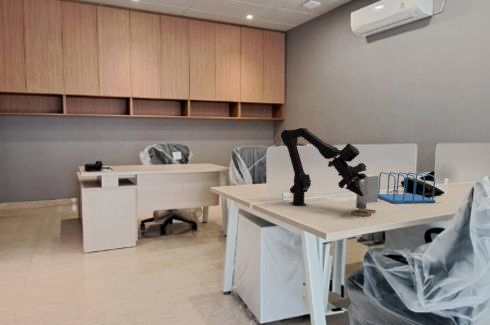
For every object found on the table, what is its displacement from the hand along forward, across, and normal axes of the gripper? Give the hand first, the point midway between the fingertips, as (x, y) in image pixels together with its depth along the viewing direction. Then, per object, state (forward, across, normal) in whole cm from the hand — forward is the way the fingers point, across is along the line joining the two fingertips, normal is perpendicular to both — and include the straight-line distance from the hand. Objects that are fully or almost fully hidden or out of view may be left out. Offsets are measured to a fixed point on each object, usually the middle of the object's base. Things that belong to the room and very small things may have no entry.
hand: (364, 195), depth 157 cm
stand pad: (+5, +9, +8) cm, 13 cm away
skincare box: (-1, +32, +15) cm, 36 cm away
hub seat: (+6, 0, +8) cm, 10 cm away
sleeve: (+3, 0, +5) cm, 6 cm away
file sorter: (+8, +53, +6) cm, 54 cm away
